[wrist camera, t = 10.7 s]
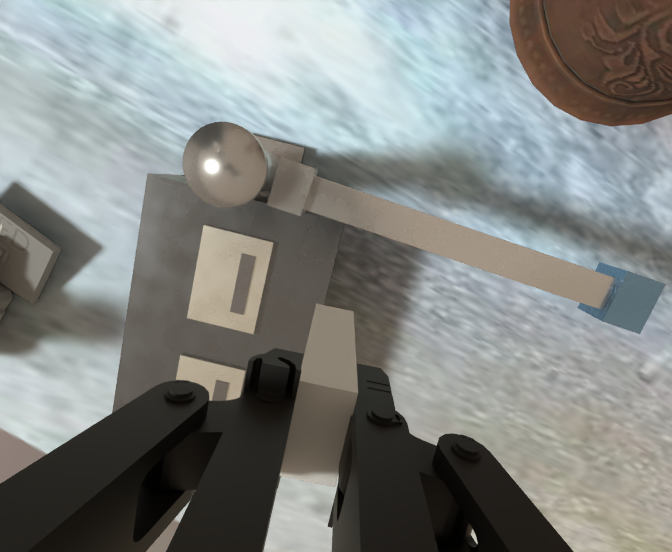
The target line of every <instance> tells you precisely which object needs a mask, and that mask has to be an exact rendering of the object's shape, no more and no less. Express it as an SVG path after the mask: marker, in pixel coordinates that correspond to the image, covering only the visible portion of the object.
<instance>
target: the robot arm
mask: <svg viewBox="0 0 672 552" xmlns="http://www.w3.org/2000/svg"><path fill="white" fill-rule="evenodd" d="M338 473H339V479H338V487H337V491H336V495H335V499H334V503H333V507H332V511H331V515H330V519H329V523H328V527H331V528H332V526H333V535H332V552H573V550H572V549H571V548H570V547H569V546H568V544H567V543H566V542H565V541H564V540H563V538H562V537H561V536H560V535H559V534H558V533H557V531H556V530H555V529H554V528H553V527H552V525H551V524H550V523H549V522H548V521H547V519H546V518H545V517H544V516H543V515H542V513H541V512H540V511H539V510H538V509H537V507H536V506H535V505H534V504H533V503H532V501H531V500H530V499H529V498H528V497H527V495H526V494H525V493H524V492H523V491H522V490H521V488H520V487H519V486H518V485H517V484H516V482H515V481H514V480H513V479H512V478H511V476H510V475H509V474H508V473H507V472H506V470H505V469H504V468H503V467H502V466H501V464H500V463H499V462H498V461H497V460H496V458H495V457H494V456H493V455H492V454H491V452H490V451H488V450H487V449H486V448H485V447H484V446H483V445H482V444H480V443H478V442H477V441H475V440H474V439H472V438H470V437H467V436H464V435H458V434H444V435H443V436H441V437H439V440H438V444H437V446H435V445H433V444H430V443H428V442H425V441H423V440H421V439H419V438H417V437H415V436H413V435H411V434H410V433H409V429H408V425H407V422H406V420H405V418H404V417H403V416H402V415H401V414H399V413H398V412H397V411H395V406H394V402H393V397H392V394H391V387H390V383H389V378H388V376H387V375H386V374H385V373H384V372H383V371H382V369H381V368H376V367H371V366H366V365H361V364H357V363H356V346H355V328H354V311H349V310H345V309H340V308H335V307H330V306H326V305H321V304H316V307H315V311H314V316H313V320H312V324H311V328H310V332H309V337H308V341H307V345H306V349H305V353H304V354H302V353H298V352H293V351H288V350H283V349H278V348H274V349H272V350H270V351H269V352H267V353H266V354H259V355H255V356H253V357H251V358H250V359H249V361H248V366H247V372H246V378H245V383H244V389H243V392H242V394H241V396H240V397H239V398H236V399H232V400H224V401H209V392H208V391H207V389H206V388H205V387H204V386H202V385H200V384H198V383H195V382H190V381H188V380H174V381H168V382H163V383H161V384H159V385H156V386H155V387H153V388H151V389H150V390H148V391H147V392H145V393H143V394H142V395H140V396H139V397H137V398H136V399H134V400H132V401H131V402H129V403H128V404H126V405H124V406H123V407H121V408H120V409H118V410H117V411H115V412H113V413H112V414H110V415H109V416H107V417H105V418H104V419H102V420H101V421H99V422H98V423H96V424H94V425H93V426H91V427H90V428H88V429H86V430H85V431H83V432H82V433H80V434H78V435H77V436H75V437H74V438H72V439H71V440H69V441H67V442H66V443H64V444H63V445H61V446H59V447H58V448H56V449H55V450H53V451H52V452H50V453H48V454H47V455H45V456H44V457H42V458H40V459H39V460H37V461H36V462H34V463H33V464H31V465H29V466H28V467H26V468H25V469H23V470H21V471H20V472H18V473H17V474H15V475H14V476H12V477H11V478H9V479H7V480H6V481H4V482H2V483H1V484H0V552H146V551H147V550H148V548H149V547H150V546H151V545H152V544H153V543H154V541H155V540H156V539H157V538H158V537H159V536H160V535H161V533H162V532H163V531H164V529H166V528H167V526H168V525H169V524H170V523H171V522H172V521H173V520H174V518H175V517H176V516H177V515H178V514H179V513H180V511H181V510H182V509H183V508H184V507H185V506H186V504H187V503H188V502H189V501H190V500H191V501H190V503H189V505H188V507H187V509H186V511H185V513H184V515H183V517H182V519H181V521H180V524H179V526H178V528H177V530H176V532H175V534H174V536H173V538H172V540H171V543H170V544H169V547H168V549H167V551H166V552H263V550H264V546H265V541H266V537H267V532H268V527H269V523H270V518H271V514H272V509H273V505H274V500H275V495H276V491H277V486H278V481H279V477H280V476H282V477H287V478H292V479H297V480H302V481H307V482H312V483H317V484H322V485H327V486H332V487H335V485H336V481H337V477H338ZM472 529H473V530H474V532H475V534H476V537H477V541H478V545H477V544H476V542H475V541H474V539H473V538H472V536H471V531H472Z"/></svg>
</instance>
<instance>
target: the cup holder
mask: <svg viewBox="0 0 672 552" xmlns="http://www.w3.org/2000/svg"><path fill="white" fill-rule="evenodd" d="M510 27H511V31H512V36H513V40H514V44H515V48H516V53H517V56H518V58H519V60H520V62H521V64H522V66H523V67H524V69H525V71H526V73H527V75H528V77H529V79H530V80H531V82H532V84H533V85H534V86H535V87H536V88H537V89H538V90H539V91H540V92H541V93H542V94H543V95H544V96H545V97H546V98H547V99H548V100H549V101H550V102H551V103H552V104H553V105H554V106H556V107H557V108H559V109H561V110H563V111H565V112H567V113H569V114H570V115H572V116H574V117H576V118H578V119H580V120H583V121H588V122H593V123H598V124H602V125H607V126H620V125H634V124H643V123H646V122H649V121H652V120H655V119H658V118H661V117H664V116H667V115H670V114H672V0H510Z"/></svg>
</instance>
